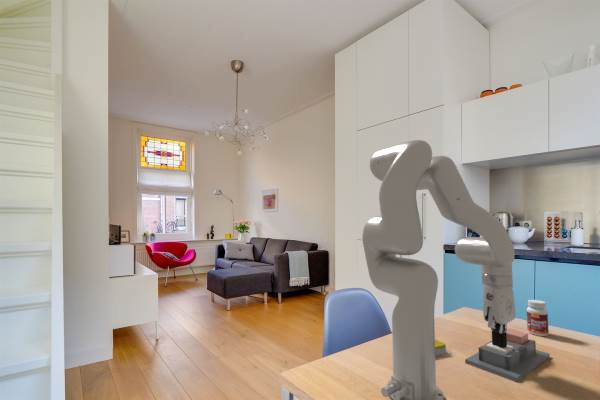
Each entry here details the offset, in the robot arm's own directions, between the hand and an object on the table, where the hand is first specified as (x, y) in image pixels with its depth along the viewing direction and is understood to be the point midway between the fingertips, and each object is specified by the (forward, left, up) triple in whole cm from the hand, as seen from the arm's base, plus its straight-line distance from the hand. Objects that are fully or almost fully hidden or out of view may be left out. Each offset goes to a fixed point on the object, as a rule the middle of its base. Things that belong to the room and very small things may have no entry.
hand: (499, 345), depth 89 cm
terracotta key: (+11, 0, -2) cm, 11 cm away
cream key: (0, 0, -3) cm, 3 cm away
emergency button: (-9, +19, -6) cm, 21 cm away
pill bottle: (+37, +3, -6) cm, 38 cm away
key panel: (+5, 0, -5) cm, 8 cm away
